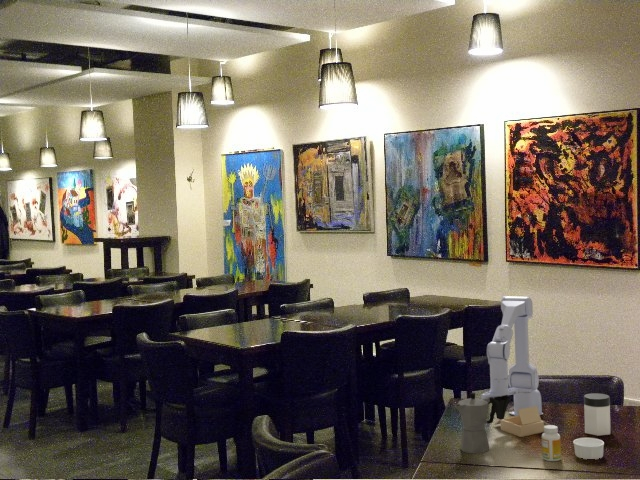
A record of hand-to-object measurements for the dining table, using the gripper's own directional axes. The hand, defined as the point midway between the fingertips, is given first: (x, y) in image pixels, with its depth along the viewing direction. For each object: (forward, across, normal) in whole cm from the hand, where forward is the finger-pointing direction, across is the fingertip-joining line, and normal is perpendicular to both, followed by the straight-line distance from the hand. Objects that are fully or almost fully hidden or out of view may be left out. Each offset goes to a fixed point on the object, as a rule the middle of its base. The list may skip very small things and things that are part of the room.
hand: (500, 418), depth 266 cm
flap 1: (+2, -4, 0) cm, 4 cm away
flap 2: (+2, -9, -4) cm, 11 cm away
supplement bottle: (+6, +4, +27) cm, 28 cm away
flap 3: (+2, -9, +6) cm, 10 cm away
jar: (+6, -27, +16) cm, 32 cm away
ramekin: (+6, -6, +31) cm, 33 cm away
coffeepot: (+6, +15, +6) cm, 18 cm away
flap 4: (+2, -14, +1) cm, 14 cm away
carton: (+6, -9, 0) cm, 11 cm away
